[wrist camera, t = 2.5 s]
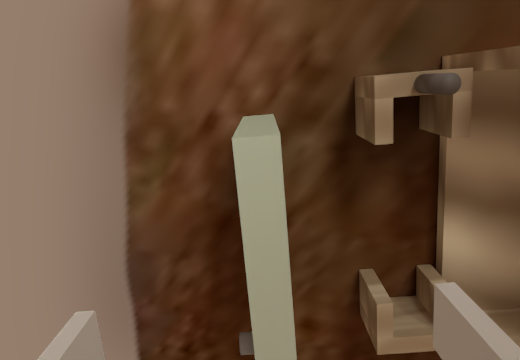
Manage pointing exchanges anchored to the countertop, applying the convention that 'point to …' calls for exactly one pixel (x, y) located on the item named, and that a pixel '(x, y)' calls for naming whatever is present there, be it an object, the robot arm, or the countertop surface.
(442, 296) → the robot arm
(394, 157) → the countertop surface
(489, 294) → the carcass
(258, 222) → the door
